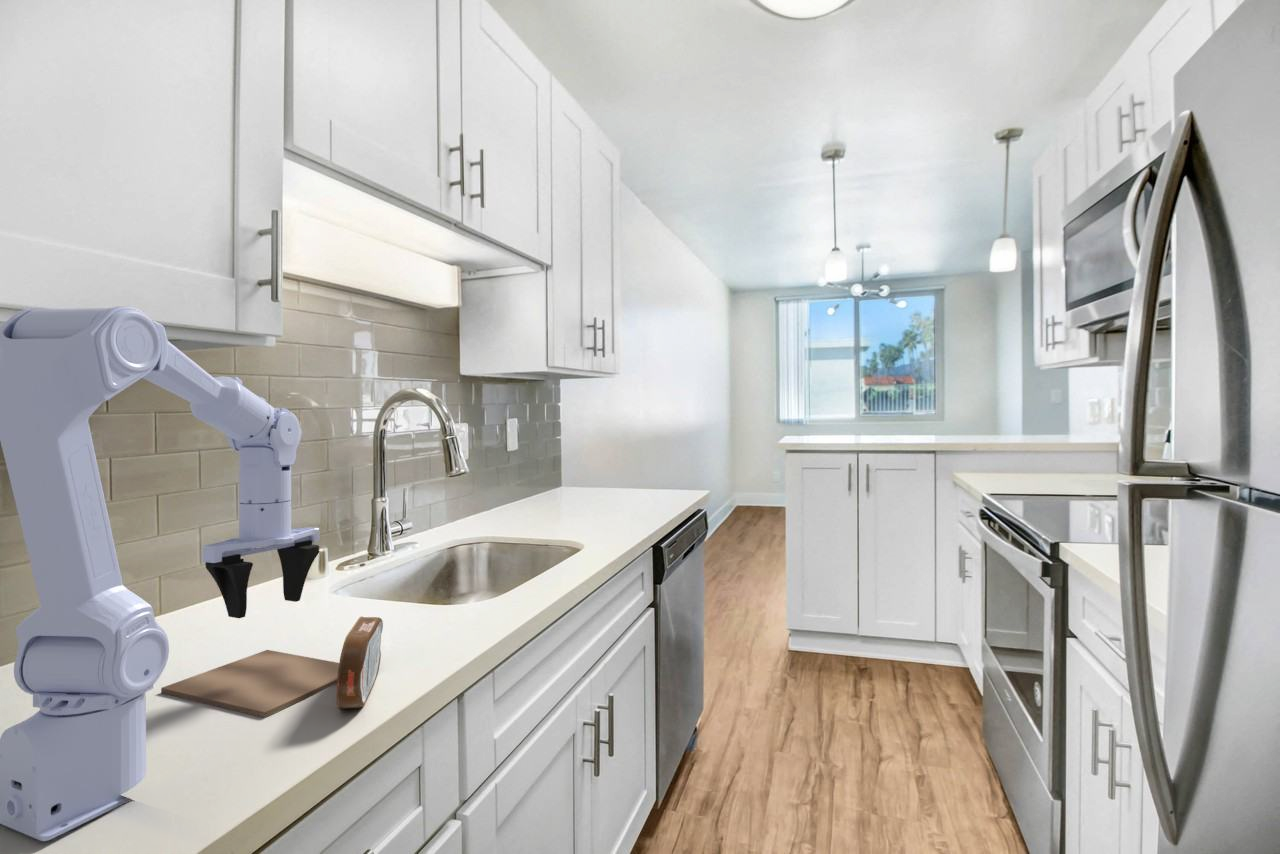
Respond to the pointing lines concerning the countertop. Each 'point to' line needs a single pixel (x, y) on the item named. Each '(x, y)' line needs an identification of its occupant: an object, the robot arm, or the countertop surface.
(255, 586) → the countertop surface
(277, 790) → the countertop surface
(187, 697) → the board
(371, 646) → the tin
